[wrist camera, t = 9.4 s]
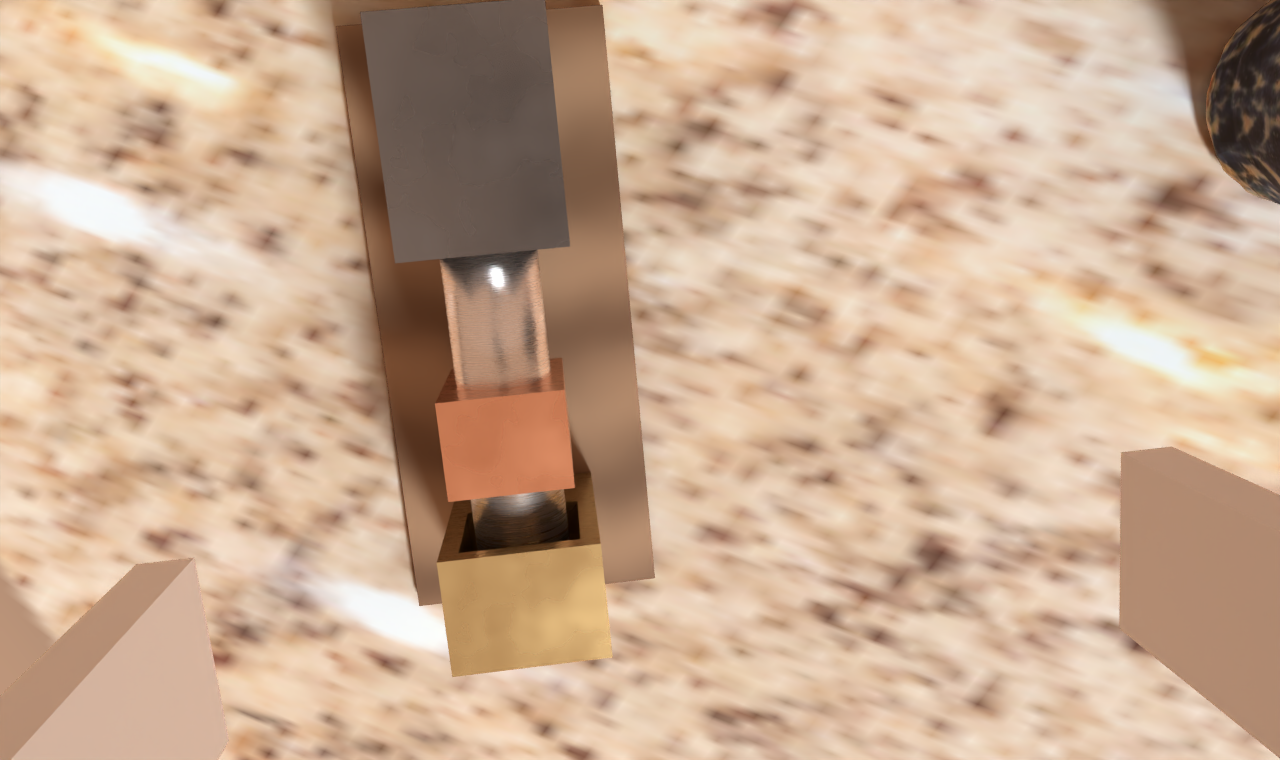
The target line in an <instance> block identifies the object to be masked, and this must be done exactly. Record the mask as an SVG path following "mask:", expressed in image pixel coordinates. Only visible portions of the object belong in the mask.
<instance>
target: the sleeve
mask: <svg viewBox="0 0 1280 760" xmlns="http://www.w3.org/2000/svg"><path fill="white" fill-rule="evenodd" d="M360 14H361V21H362V29H363V36H364V43H365V50H366V57H367V65H368V72H369V79H370V86H371V93H372V101H373V108H374V115H375V122H376V129H377V137H378V144H379V151H380V158H381V165H382V173H383V180H384V187H385V194H386V202H387V209H388V216H389V223H390V230H391V238H392V245H393V252H394V259H395V263H404V262H415V261H425V260H436V259H446V258H456V257H467V256H477V255H487V254H498V253H508V252H519V251H529V250H539V249H550V248H560V247H570V239H569V229H568V219H567V210H566V200H565V190H564V180H563V171H562V161H561V151H560V142H559V132H558V122H557V112H556V103H555V93H554V83H553V73H552V64H551V54H550V44H549V34H548V25H547V15H546V5H545V0H505V1H492V2H480V3H467V4H455V5H442V6H430V7H417V8H405V9H392V10H380V11H367V12H360Z"/></svg>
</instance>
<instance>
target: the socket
mask: <svg viewBox="0 0 1280 760" xmlns="http://www.w3.org/2000/svg"><path fill="white" fill-rule="evenodd" d="M574 484H575V488H569V489H564V494H565V503H566V513H567V522H568V531H569V540H568V541H559V542H550V543H542V544H533V545H524V546H516V547H507V548H498V549H490V550H481V551H477V544H476V537H475V529H474V521H473V513H472V506H471V500H462V501H454V503H453V507H452V510H451V514H450V517H449V521H448V524H447V528H446V531H445V535H444V539H443V542H442V546H441V549H440V553H439V556H438V560H437V569H438V576H439V583H440V591H441V598H442V605H443V612H444V620H445V627H446V634H447V641H448V648H449V656H450V663H451V670H452V677H456V676H464V675H472V674H480V673H489V672H497V671H505V670H513V669H521V668H529V667H537V666H545V665H554V664H562V663H570V662H578V661H586V660H594V659H602V658H610V657H612V648H611V638H610V628H609V619H608V609H607V599H606V589H605V580H604V570H603V560H602V550H601V542H600V534H599V527H598V520H597V512H596V505H595V498H594V491H593V483H592V476H591V472H588V473H579V474H574Z"/></svg>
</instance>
